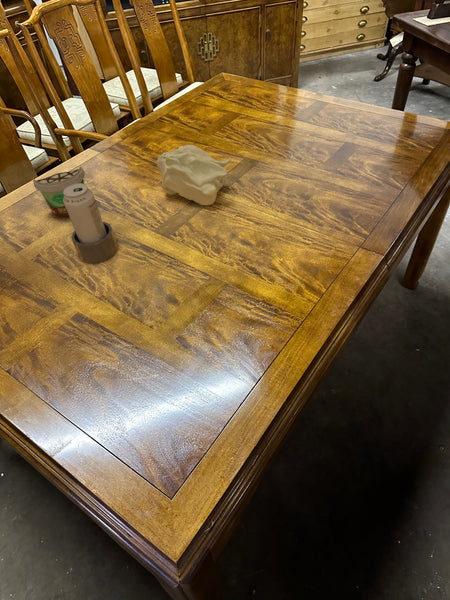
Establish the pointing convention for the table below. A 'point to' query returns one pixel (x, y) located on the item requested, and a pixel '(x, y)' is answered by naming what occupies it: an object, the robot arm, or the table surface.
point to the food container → (58, 189)
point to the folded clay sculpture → (192, 174)
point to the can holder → (97, 247)
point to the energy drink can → (84, 213)
